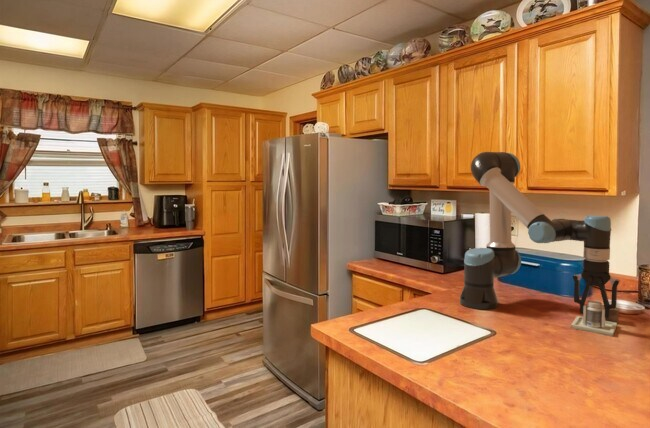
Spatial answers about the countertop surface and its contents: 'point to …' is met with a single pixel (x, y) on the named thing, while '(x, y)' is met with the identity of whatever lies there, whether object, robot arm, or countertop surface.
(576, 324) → the tray
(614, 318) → the walnut cube
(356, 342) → the countertop surface
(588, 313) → the pill bottle
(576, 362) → the countertop surface
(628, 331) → the countertop surface
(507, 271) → the robot arm
